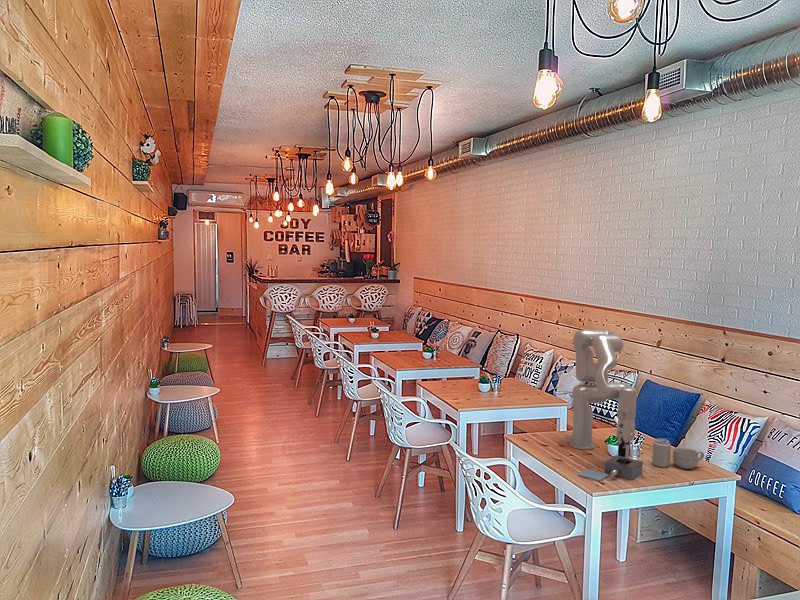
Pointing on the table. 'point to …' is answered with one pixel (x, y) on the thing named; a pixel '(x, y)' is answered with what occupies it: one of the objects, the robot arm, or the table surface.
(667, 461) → the can
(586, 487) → the table surface
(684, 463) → the teacup
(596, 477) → the mat
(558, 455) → the table surface
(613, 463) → the block
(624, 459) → the grey tall cylinder
